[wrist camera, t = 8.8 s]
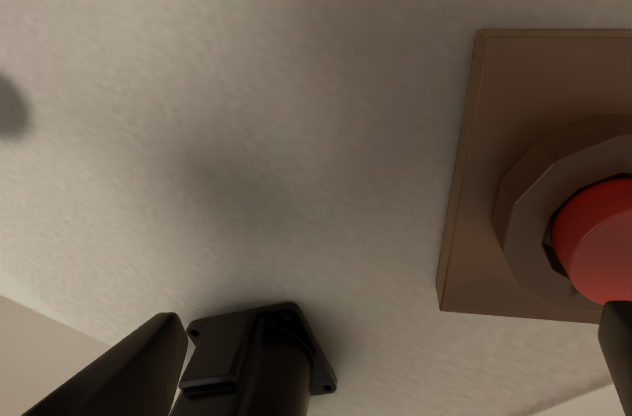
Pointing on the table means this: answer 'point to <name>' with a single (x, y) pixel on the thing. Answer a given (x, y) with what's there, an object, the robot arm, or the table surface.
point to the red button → (597, 240)
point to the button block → (532, 166)
